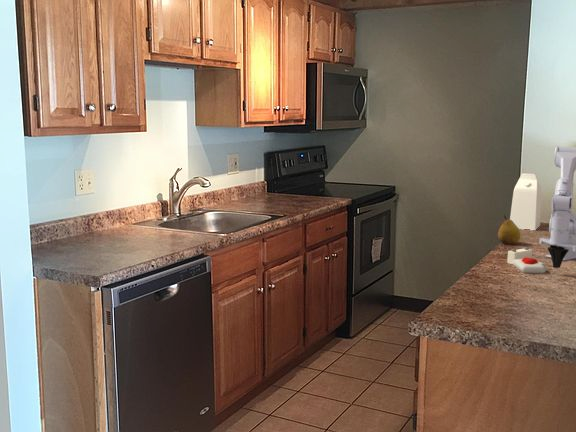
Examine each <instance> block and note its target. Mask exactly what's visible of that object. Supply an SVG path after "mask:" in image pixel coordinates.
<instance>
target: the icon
mask: <svg viewBox="0 0 576 432" xmlns="http://www.w3.org/2000/svg"><path fill="white" fill-rule="evenodd" d="M513 264H514V265H513ZM513 264H512V265H513V266H515V267H516V269H518V270H519V271H520V272H521V273H523V274H545V273H546V264H545V263H544V262H541V261H538V260H537V259H535V258H533V257H532V258H527V257H525V258H523V259H515V260H514V262H513Z"/></svg>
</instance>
